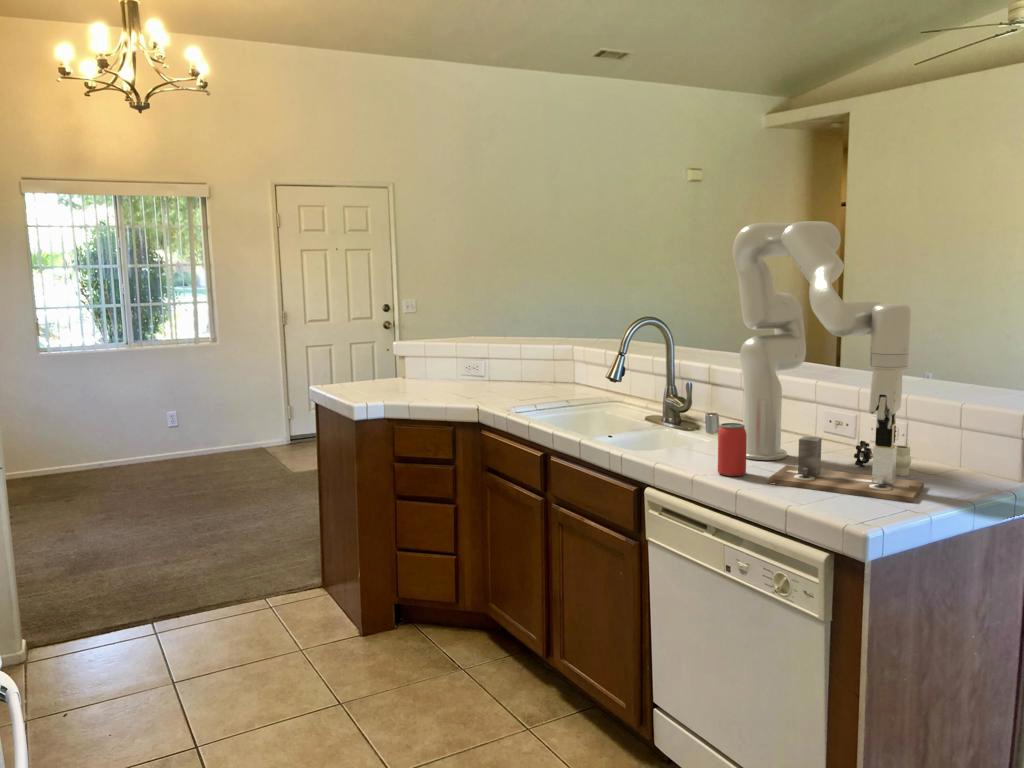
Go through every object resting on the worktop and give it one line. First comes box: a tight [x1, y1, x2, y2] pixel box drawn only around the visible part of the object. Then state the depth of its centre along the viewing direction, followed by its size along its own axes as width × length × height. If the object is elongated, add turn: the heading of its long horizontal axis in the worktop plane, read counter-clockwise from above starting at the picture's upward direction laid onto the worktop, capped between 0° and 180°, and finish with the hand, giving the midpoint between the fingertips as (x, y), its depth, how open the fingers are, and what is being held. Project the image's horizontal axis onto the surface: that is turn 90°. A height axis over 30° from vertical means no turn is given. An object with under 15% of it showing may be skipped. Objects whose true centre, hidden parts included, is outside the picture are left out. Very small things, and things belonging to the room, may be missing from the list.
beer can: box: [717, 422, 747, 477], centre depth 190 cm, size 7×7×12 cm
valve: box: [853, 440, 912, 477], centre depth 190 cm, size 7×7×12 cm
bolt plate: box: [767, 435, 925, 504], centre depth 178 cm, size 30×14×10 cm, turn 55°
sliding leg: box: [871, 423, 897, 486], centre depth 173 cm, size 4×6×13 cm, turn 145°
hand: (885, 443), depth 173 cm, fingers closed on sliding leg, 3 cm apart
